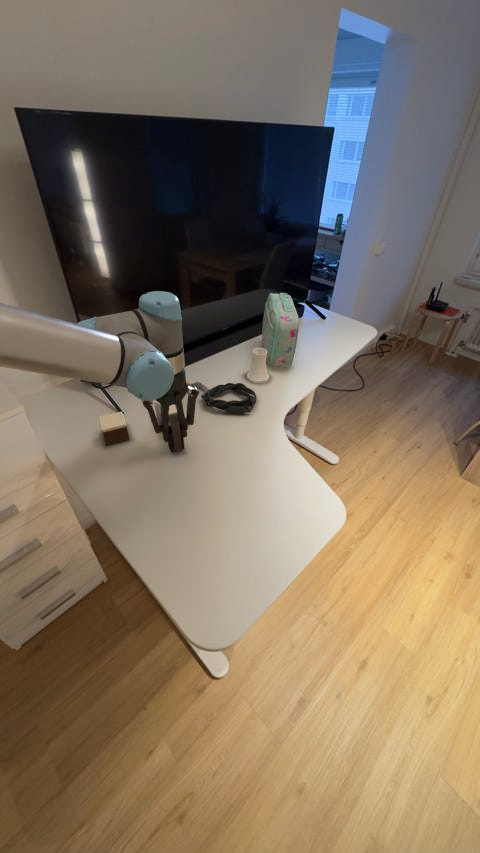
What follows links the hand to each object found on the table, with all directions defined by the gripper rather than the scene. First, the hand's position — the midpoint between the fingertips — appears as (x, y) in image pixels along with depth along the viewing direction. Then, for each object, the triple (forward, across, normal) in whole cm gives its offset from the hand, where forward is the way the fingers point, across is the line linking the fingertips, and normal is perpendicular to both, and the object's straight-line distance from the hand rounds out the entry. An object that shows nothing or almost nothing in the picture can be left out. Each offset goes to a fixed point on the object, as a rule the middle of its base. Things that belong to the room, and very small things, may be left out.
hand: (176, 447), depth 89 cm
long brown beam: (0, 0, -7) cm, 7 cm away
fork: (+1, -11, -29) cm, 31 cm away
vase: (+1, -36, -24) cm, 43 cm away
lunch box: (+1, -50, -36) cm, 62 cm away
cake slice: (+1, -2, -12) cm, 12 cm away
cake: (+1, +13, -12) cm, 18 cm away
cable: (+1, -21, -15) cm, 26 cm away
